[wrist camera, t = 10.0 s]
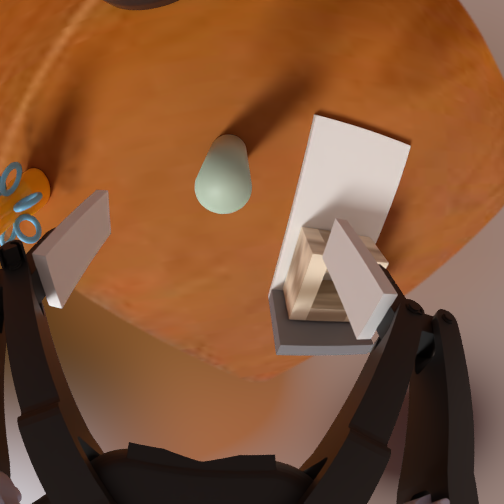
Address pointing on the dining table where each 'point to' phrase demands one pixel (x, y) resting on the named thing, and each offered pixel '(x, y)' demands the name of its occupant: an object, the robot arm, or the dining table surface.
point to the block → (316, 279)
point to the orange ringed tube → (22, 201)
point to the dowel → (224, 176)
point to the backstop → (323, 216)
